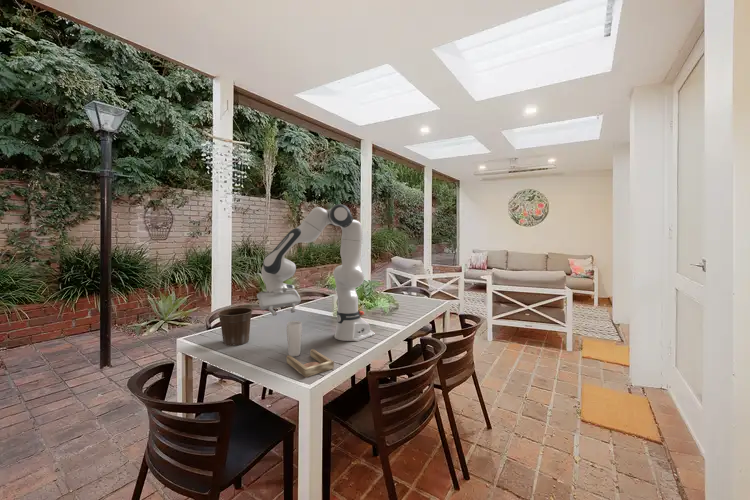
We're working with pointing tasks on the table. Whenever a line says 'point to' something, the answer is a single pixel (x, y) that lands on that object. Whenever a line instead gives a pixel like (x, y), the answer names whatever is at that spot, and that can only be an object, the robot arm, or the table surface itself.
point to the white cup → (294, 337)
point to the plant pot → (235, 325)
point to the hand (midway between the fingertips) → (284, 313)
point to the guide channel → (312, 364)
